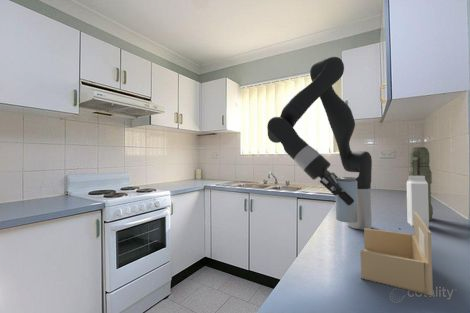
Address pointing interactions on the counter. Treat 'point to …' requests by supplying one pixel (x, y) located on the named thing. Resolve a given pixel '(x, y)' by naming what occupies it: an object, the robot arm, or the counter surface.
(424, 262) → the mailer
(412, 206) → the milk
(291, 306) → the counter surface
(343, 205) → the canister
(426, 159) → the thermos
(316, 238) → the counter surface
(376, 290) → the counter surface
